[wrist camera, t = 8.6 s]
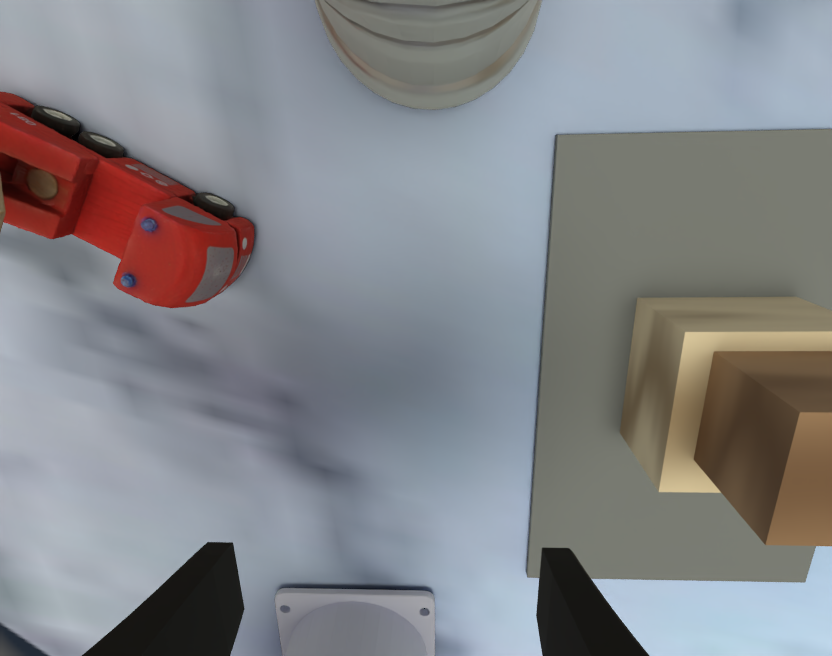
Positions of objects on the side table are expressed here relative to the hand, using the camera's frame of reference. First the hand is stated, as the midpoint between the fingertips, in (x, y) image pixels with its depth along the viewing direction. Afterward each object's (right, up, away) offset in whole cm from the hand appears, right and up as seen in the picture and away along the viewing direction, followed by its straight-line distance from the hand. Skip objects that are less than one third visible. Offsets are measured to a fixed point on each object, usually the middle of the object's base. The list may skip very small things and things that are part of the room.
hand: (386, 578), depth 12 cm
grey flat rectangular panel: (+12, +3, +9) cm, 16 cm away
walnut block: (+12, +3, +5) cm, 14 cm away
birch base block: (+12, +4, +9) cm, 16 cm away
